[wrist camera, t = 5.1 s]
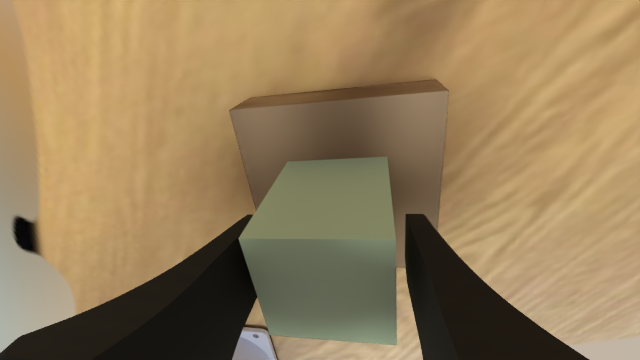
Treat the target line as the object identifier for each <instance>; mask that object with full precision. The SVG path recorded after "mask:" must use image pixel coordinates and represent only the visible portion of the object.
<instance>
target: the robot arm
mask: <svg viewBox="0 0 640 360" xmlns="http://www.w3.org/2000/svg"><path fill="white" fill-rule="evenodd" d="M252 217H253V215H247V216H245V217H244V218H242V219H241V220H239V221H238V222H237V223H235V224H234V225H232V226H231V227H230V228H228V229H227V230H226V231H224V232H223V233H222V234H220V235H219V236H218V237H216V238H215V239H214V240H212V241H211V242H210V243H208V244H207V245H205V246H204V247H202V248H201V249H200V250H198V251H197V252H195V253H194V254H192V255H191V256H189V257H188V258H186V259H185V260H183V261H182V262H180V263H179V264H177V265H176V266H174V267H172V268H171V269H169V270H167V271H166V272H164V273H162V274H161V275H159V276H157V277H155V278H154V279H152V280H150V281H148V282H146V283H144V284H142V285H140V286H138V287H136V288H134V289H133V290H131V291H129V292H127V293H125V294H123V295H121V296H119V297H117V298H115V299H112V300H110V301H108V302H106V303H104V304H101V305H99V306H97V307H95V308H92V309H90V310H88V311H85V312H83V313H81V314H78V315H76V316H73V317H71V318H68V319H66V320H63V321H60V322H58V323H55V324H52V325H50V326H47V327H44V328H42V329H39V330H36V331H34V332H31V333H28V334H25V335H22V336H20V337H19V338H17V339H16V340H15V341H14V342H13V343H11V344H10V345H9V346H8V347H7V348H6V349H5V350H3V351H2V352H1V353H0V360H277V358H276V355H275V352H274V349H273V345H272V342H271V339H270V336H269V333H268V331H267V330H265V329H260V328H248V327H244V325H245V323H246V321H247V318H248V316H249V314H250V312H251V309H252V307H253V305H254V303H255V300H256V298H257V294H256V291H255V288H254V285H253V282H252V279H251V275H250V272H249V269H248V266H247V263H246V260H245V257H244V254H243V251H242V248H241V245H240V242H239V239H238V238H239V237H240V235H241V234H242V232H243V231H244V229H245V227H246V226H247V224H248V223H249V221H250V220H251V218H252ZM405 266H406V275H407V284H408V288H409V293H410V298H411V302H412V307H413V311H414V316H415V321H416V325H417V330H418V334H419V339H420V343H421V349H422V355H423V360H589V359H587V358H585V357H584V356H583V355H581V354H580V353H578V352H577V351H575V350H574V349H572V348H571V347H569V346H568V345H566V344H565V343H563V342H562V341H560V340H559V339H557V338H556V337H554V336H553V335H551V334H550V333H549V332H547V331H546V330H544V329H543V328H541V327H540V326H539V325H537V324H536V323H535V322H533V321H532V320H531V319H529V318H528V317H527V316H525V315H524V314H523V313H521V312H520V311H519V310H517V309H516V308H515V307H513V306H512V305H511V304H510V303H508V302H507V301H506V300H505V299H503V298H502V297H501V296H500V295H499V294H497V293H496V292H495V291H494V290H493V289H492V288H491V287H489V286H488V285H487V284H486V283H485V282H484V281H483V280H482V279H481V278H480V277H479V276H478V275H477V274H475V273H474V272H473V271H472V270H471V269H470V268H469V267H468V265H467V264H466V263H465V262H464V261H463V260H462V259H461V258H460V257H459V256H458V255H457V254H456V253H455V252H454V251H453V249H452V248H451V247H450V246H449V245H448V244H447V243H446V241H445V240H444V239H443V238H442V237H441V235H440V234H439V233H438V232H437V230H436V229H435V228H434V226H433V225H432V224H431V222H430V221H429V220H428V218H427V217H426V216H425V215H424V214H406V218H405Z"/></svg>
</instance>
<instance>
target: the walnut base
mask: <svg viewBox="0 0 640 360" xmlns="http://www.w3.org/2000/svg"><path fill="white" fill-rule="evenodd" d="M448 96H449V90H448V89H447V88H445V87H444V86H443V85H442V84H441V83H440V82H438V81H437V80H426V81H416V82H405V83H395V84H385V85H375V86H365V87H355V88H344V89H334V90H324V91H314V92H304V93H294V94H283V95H273V96H263V97H253V98H249V99H248V100H246V101H244V102H242V103H241V104H239V105H237V106H235V107H234V108H232V109H230V110H229V112H230V116H231V119H232V123H233V127H234V131H235V134H236V138H237V142H238V145H239V149H240V153H241V156H242V160H243V164H244V167H245V171H246V175H247V178H248V182H249V186H250V190H251V193H252V197H253V201H254V204H255V208H256V210H257V209H258V207H259V206H260V204H261V202H262V201H263V199H264V198H265V196H266V195H267V193H268V192H269V190H270V188H271V187H272V185H273V184H274V182H275V181H276V179H277V177H278V176H279V174H280V173H281V171H282V170H283V168H284V166H285V165H286V163H287V162H290V161H310V160H329V159H349V158H368V157H387V159H388V169H389V178H390V188H391V197H392V207H393V216H394V226H395V235H396V267H397V268H406V266H405V218H406V214H424V215H425V216H426V217H427V218H428V220H429V221H430V222H431V224H432V225H433V226H434V228H435V229H436V230H438V218H439V205H440V193H441V181H442V169H443V157H444V144H445V132H446V120H447V108H448Z"/></svg>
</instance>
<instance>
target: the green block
mask: <svg viewBox="0 0 640 360" xmlns="http://www.w3.org/2000/svg"><path fill="white" fill-rule="evenodd" d="M238 239H239V242H240V245H241V248H242V251H243V254H244V257H245V260H246V263H247V266H248V269H249V272H250V275H251V279H252V282H253V285H254V288H255V291H256V294H257V297H258V300H259V303H260V306H261V309H262V312H263V315H264V318H265V321H266V324H267V328H268V331H269V334H270V335H274V336H286V337H298V338H311V339H323V340H335V341H348V342H360V343H372V344H385V345H397V318H396V235H395V226H394V216H393V207H392V197H391V188H390V178H389V169H388V159H387V157H368V158H349V159H329V160H310V161H290V162H287V163H286V165H285V166H284V168H283V170H282V171H281V173H280V174H279V176H278V177H277V179H276V181H275V182H274V184H273V185H272V187H271V188H270V190H269V192H268V193H267V195H266V196H265V198H264V199H263V201H262V202H261V204H260V206H259V207H258V209H257V210H256V212H255V213H254V215H253V217H252V218H251V220H250V221H249V223H248V224H247V226H246V227H245V229H244V231H243V232H242V234H241V235H240V237H239V238H238Z"/></svg>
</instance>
